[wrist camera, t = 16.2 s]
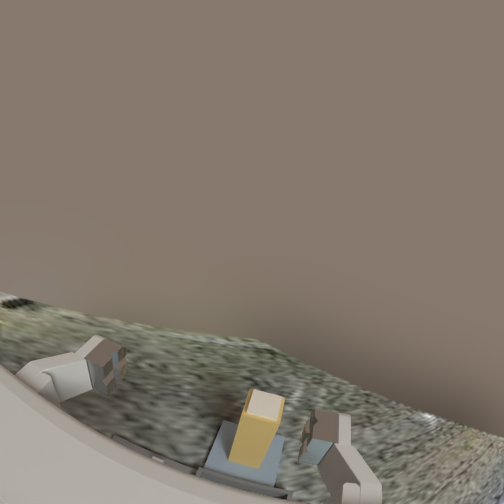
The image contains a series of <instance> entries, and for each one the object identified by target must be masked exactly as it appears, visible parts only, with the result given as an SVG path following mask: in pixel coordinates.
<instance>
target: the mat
mask: <svg viewBox="0 0 504 504" xmlns="http://www.w3.org/2000/svg"><path fill="white" fill-rule="evenodd" d="M238 425H239V424H235V423H232V422H229V421H225V420H223V422H222V425H221V427H220V430H219V432H218V435H217V437H216V439H215V442H214V444H213V447H212V449H211V452H210V454H209V456H208V459H207V461H206V463H205V466H204V469H207V470H210V471H213V472H216V473H220V474H223V475H226V476H230V477H233V478H237V479H241V480H244V481H248V482H252V483H256V484H260V485H265V486H269V487H274V484H275V480H276V475H277V471H278V467H279V462H280V457H281V453H282V448H283V443H284V438H285V436H281V435H276V434H275V436H274V438H273V440H272V442H271V444H270V446H269V448H268V450H267V452H266V455H265V457H264V459H263V461H262V463H261V465H260V467H259V469H258V468H254V467H250V466H246V465H242V464H239V463H235V462H232V461H228V458H229V455H230V452H231V448H232V445H233V442H234V438H235V435H236V431H237V428H238Z"/></svg>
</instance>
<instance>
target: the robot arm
mask: <svg viewBox="0 0 504 504" xmlns="http://www.w3.org/2000/svg"><path fill="white" fill-rule="evenodd" d="M125 355H126V348H124V347H122V346H120V345H118V344H116V343H114V342H112V341H110V340H108V339H106V338H103V337H101V336H99V335H94V336H93V337H92V338H91V339H90V340H89V341H87V342H86V343H85V344H84V345H83V346H82V347H81V348H80V349H79V350H78V351H76V352H75V353H74V352H70V353H65V354H61V355H57V356H52V357H48V358H43V359H39V360H34V361H30V362H29V363H28V364H26V365H25V366H24V367H23V368H22V369H21V370H19V371H18V372H17V373H16V374H15V375H13V374H12V373H11V372H9V371H8V370H7V369H6V368H5V367H3V366H2V365H1V364H0V504H309V503H302V502H296V501H290V500H285V499H280V498H275V497H270V496H265V495H261V494H256V493H252V492H248V491H244V490H240V489H237V488H233V487H230V486H226V485H223V484H219V483H216V482H213V481H210V480H207V479H204V478H201V477H198V476H195V475H192V474H189V473H187V472H184V471H181V470H179V469H176V468H173V467H171V466H168V465H166V464H163V463H161V462H159V461H156V460H154V459H152V458H149V457H147V456H145V455H143V454H141V453H138V452H136V451H134V450H132V449H130V448H128V447H126V446H124V445H122V444H120V443H118V442H116V441H114V440H112V439H110V438H108V437H106V436H105V435H103V434H101V433H99V432H97V431H95V430H94V429H92V428H90V427H88V426H87V425H85V424H83V423H82V422H80V421H78V420H77V419H75V418H73V417H72V416H70V415H69V414H67V413H66V412H64V411H63V409H62V406H61V403H60V402H62V401H65V400H67V399H70V398H72V397H75V396H77V395H80V394H82V393H84V392H87V391H89V390H92V388H93V389H95V390H97V391H99V392H101V393H103V394H105V395H107V396H108V395H109V394H110V393H111V392H112V391H113V389H114V388H115V387H116V383H115V382H117V381H120V380H122V378H123V377H124V376H125V373H126V371H127V361H126V359H125V358H124V357H125ZM301 442H302V443H303V444H302V446H301V447H300V449H299V456H298V462H302V463H307V464H312V465H317V467H318V470H319V472H320V474H321V476H322V478H323V480H324V482H325V484H326V486H327V488H328V490H329V493H330V495H331V497H330V498H329V499H328V500H327V501H326V502H325V503H324V504H382V484H381V483H380V482H379V480H378V479H377V478H376V476H375V475H374V473H373V472H372V471H371V469H370V468H369V467H368V465H367V464H366V462H365V461H364V460H363V458H362V457H361V455H360V454H359V453H358V451H357V450H356V448H355V447H354V446H351V417H350V415H348V414H342V413H337V412H331V411H326V410H321V409H316V408H314V409H313V411H312V412H311V416H310V419H309V420H307V422H306V424H305V426H304V429H303V432H302V437H301Z"/></svg>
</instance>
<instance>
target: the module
mask: <svg viewBox="0 0 504 504" xmlns="http://www.w3.org/2000/svg"><path fill="white" fill-rule="evenodd" d="M284 401H285V398H283V397H281V396H277V395H274V394H270V393H266V392H262V391H259V390H255V389H254V390H252V389H250V391H249V394H248V397H247V400H246V403H245V406H244V409H243V411H242V414H241V418H240V421H239V425H238V428H237V431H236V435H235V438H234V442H233V445H232V448H231V452H230V455H229V458H228V461H232V462H235V463H239V464H242V465H246V466H250V467H254V468H258V469H259V467H260V465H261V463H262V461H263V459H264V457H265V455H266V452H267V450H268V448H269V446H270V444H271V442H272V440H273V438H274V436H275V433H276V431H277V429H278V427H279V424H280V420H281V415H282V411H283V406H284Z"/></svg>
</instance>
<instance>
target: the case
mask: <svg viewBox="0 0 504 504" xmlns="http://www.w3.org/2000/svg"><path fill="white" fill-rule="evenodd" d="M112 440H114V441H116V442H118V443H120V444H122V445H124V446H126V447H128V448H130V449H132V450H134V451H136V452H138V453H141V454H143V455H145V456H147V457H149V458H152V459H154V460H156V461H159V462H161V463H163V464H166V465H168V466H171V467H173V468H176V469H179V470H181V471H184V472H187V473H189V474H192V475H195V476H198V477H202V478H205V479H209V480H212V481H215V482H218V483H221V484H225V485H228V486H232V487H235V488H239V489H243V490H247V491H251V492H255V493H259V494H263V495H268V496H273V497H278V498H283V499H285V500H290V501H291V499H292V494H293V491H289V490H284V489H279V488H274V487H269V486H265V485H260V484H256V483H252V482H248V481H244V480H241V479H237V478H233V477H230V476H226V475H223V474H220V473H216V472H213V471H210V470H207V469H204V468H201V467H199V468H198V470H196V469H194V468H191V467H188V466H185V465H183V464H180V463H177V462H175V461H172V460H170V459H167V458H165V457H162V456H160V455H158V454H155V453H153V452H151V451H148V450H146V449H144V448H142V447H139V446H137V445H135V444H133V443H131V442H129V441H127V440H125V439H123V438H121V437H119V436H117V435H114V436H113V438H112Z"/></svg>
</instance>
